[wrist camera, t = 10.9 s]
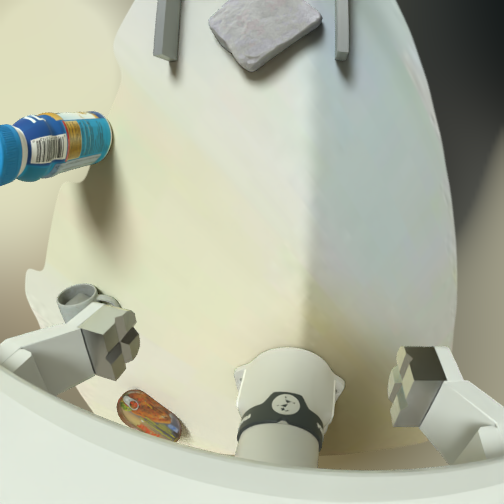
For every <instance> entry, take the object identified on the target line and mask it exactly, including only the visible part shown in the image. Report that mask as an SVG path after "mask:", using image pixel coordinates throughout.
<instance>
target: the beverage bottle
mask: <svg viewBox="0 0 504 504" xmlns="http://www.w3.org/2000/svg"><path fill="white" fill-rule="evenodd" d="M111 142H112V130H111V126H110V124H109V122H108V120H107V119H106V118H105V117H104V116H103V115H102V114H100V113H98V112H94V111H91V112H69V113H42V114H39V115H29V116H26V117H23V118H21V119H20V120H18V121H17V122H16V123H15V124H13V125H8V124H5V125H0V186H2V185H5V184H7V183H10V182H12V181H13V180H15V179H18V180H21V181H26V182H33V181H37V180H39V179H40V178H49V177H53V176H55V175H57V174H59V173H62V172H66V171H69V170H73V169H76V168H80V167H83V166H87V165H92V164H96V163H98V162H100V161H101V160H102V159H103V158H104V157H105V156H106V155H107V153H108V151H109V149H110V147H111Z"/></svg>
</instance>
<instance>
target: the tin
mask: <svg viewBox="0 0 504 504" xmlns="http://www.w3.org/2000/svg"><path fill="white" fill-rule="evenodd" d="M117 412H118V415H119V417H120V419H121V420H122V421H123V422H124V423H125V424H126V425H128V426H129V427H130V428H132V429H135V430H138V431H141V432H144V433H147V434H150V435H153V436H156V437H159V438H162V439H166V440H169V441H172V442H177V441H178V440H179V438H180V436H181V432H182V429H181V424H180V422H179V420H178V418H177V417H176V416H175V415H174V414H173V413H172V412H170V411H169V410H168V409H166V408H165V407H163V406H162V405H160V404H159V403H158V402H156V401H155V400H154V399H152V398H151V397H150V396H148V395H147V394H146V393H144V392H142V391H140V390H129V391H127V392H125V393H124V394H123V395H122V396H121V397H120V399H119V400H118V403H117Z"/></svg>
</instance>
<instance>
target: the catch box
mask: <svg viewBox="0 0 504 504" xmlns="http://www.w3.org/2000/svg"><path fill="white" fill-rule="evenodd" d="M180 10H181V0H158V3H157V13H156V24H155V36H154V50H153V56H156V57H159V58H161V59H164V60H167V61H175V60H177V52H178V36H179V22H180ZM348 53H349V19H348V0H335V60H343V61H345V59H346V57H347V55H348Z"/></svg>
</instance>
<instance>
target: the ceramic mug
mask: <svg viewBox="0 0 504 504" xmlns="http://www.w3.org/2000/svg"><path fill="white" fill-rule="evenodd" d="M99 300H101V301H106V302H109V303H111V304H112V305H113V306H115V307H119V308H120V305H119V303H118V302H117V301H116V300H115V299H114V298H112V297H111V296H107V295H99V294H98V292H97V289H96V287H95V286H93V285H91V284H77V285H73V286H70V287H68V288H66V289H65V290H63V291H62V292H61V293H60V294H59V295H58V297H57V304H58V307H59V309H60V312H61V314H62V317H63V319H64V321H65V324H66V323H67V322H69V321H70V320H71V319H72V318H74V317H75V316H76V315H77V314H78V313H80V312H81V311H82V310H83V309H85V308H86V307H87V306H88V305H90V304H91V303H92V302H99V303H100V301H99Z"/></svg>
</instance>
